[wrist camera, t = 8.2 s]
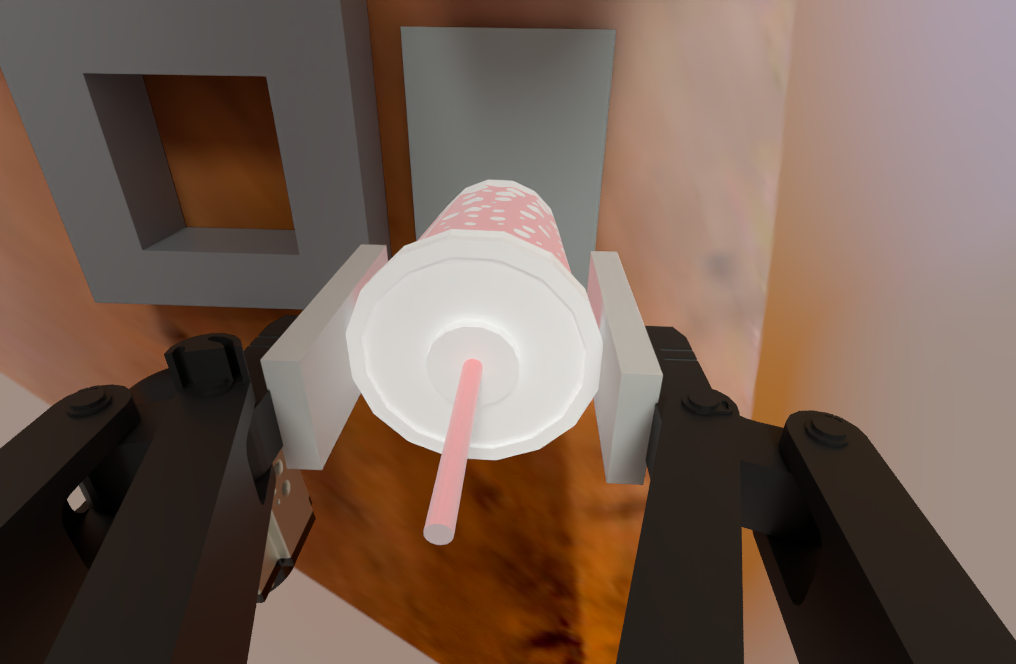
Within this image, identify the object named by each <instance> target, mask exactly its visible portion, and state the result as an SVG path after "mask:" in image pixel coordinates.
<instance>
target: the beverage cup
mask: <svg viewBox="0 0 1016 664" xmlns="http://www.w3.org/2000/svg"><path fill="white" fill-rule="evenodd" d="M346 340H347V347H348V353H349V360H350V366H351V373H352V378H353V380H354V382H355V383H356V385H357V387H358V388H359V390H360V392H361V393H362V395H363V397H364V398H365V400H366V402H367V403H368V405H369V407H370V408H371V410H372V412H373V413H374V414H375V415H376V416H377V417H379V418H380V419H381V420H382V421H384V422H385V423H386V424H387V425H389V426H390V427H391V428H392V429H394V430H395V431H396V432H397V433H399V434H400V435H401V436H402V437H404V438H405V439H406V440H407V441H409V442H411V443H414V444H416V445H419V446H422V447H424V448H427V449H430V450H432V451H435V452H438V453H440V454H442V456H441V460H440V464H439V468H438V472H437V477H436V481H435V485H434V489H433V494H432V498H431V502H430V506H429V510H428V515H427V519H426V523H425V527H424V537H425V538H426V540H428V541H429V542H430V543H433V544H436V545H444V544H448V543H449V542H451V541H452V540H453V538H454V533H455V527H456V521H457V515H458V510H459V504H460V498H461V492H462V486H463V481H464V475H465V469H466V463H467V459H484V460H499V459H503V458H507V457H511V456H515V455H519V454H523V453H527V452H531V451H535V450H539V449H540V448H542V447H543V446H545V445H546V444H548V443H549V442H551V441H552V440H554V439H555V438H557V437H558V436H560V435H561V434H563V433H564V432H566V431H567V430H569V429H570V428H572V427H573V426H575V424H576V423H577V421H578V420H579V418H580V417H581V415H582V414H583V412H584V411H585V409H586V408H587V406H588V405H589V403H590V402H591V400H592V399H593V397H594V396H595V394H596V393H597V391H598V388H599V379H600V371H601V362H602V353H603V341H602V337H601V334H600V331H599V328H598V325H597V322H596V319H595V316H594V313H593V310H592V308H591V305H590V302H589V299H588V296H587V293H586V290H585V288H584V287H583V286H582V285H581V284H580V283H579V282H578V281H577V279H576V278H575V277H574V276H573V275H572V274H571V270H570V267H569V264H568V261H567V257H566V254H565V251H564V248H563V244H562V241H561V238H560V234H559V231H558V228H557V225H556V222H555V219H554V216H553V214H552V211H551V209H550V207H549V206H548V205H547V204H546V203H545V202H544V201H543V200H542V198H541V197H540V196H539V195H538V194H537V193H536V192H535V191H534V190H531V189H529V188H527V187H525V186H523V185H521V184H519V183H517V182H514V181H509V180H486V181H483V182H480V183H478V184H475V185H472V186H470V187H467V188H465V189H464V190H463V191H462V192H461V193H460V194H459V195H458V196H457V197H456V198H455V199H454V200H453V201H452V202H451V203H450V204H449V205H448V206H447V207H446V208H445V209H444V210H443V212H442V213H441V214H440V215H439V216H438V217H437V219H436V220H435V221H434V222H433V223H432V224H431V225H430V227H429V228H428V229H427V230H426V231H425V232H424V234H423V235H422V236H421V237H420V238H419V239H418V241H417V242H414V243H411V244H408V245H405V246H404V247H403V248H402V249H401V250H400V251H398V252H397V253H396V254H395V255H394V256H393V257H392V258H391V259H390V260H389V261H388V262H387V263H386V264H385V265H384V266H383V267H382V268H381V269H380V270H379V271H378V272H377V273H376V274H375V275H374V276H373V277H372V278H371V280H370V281H369V282H368V283H366V284H365V285H364V287H363V288H362V289H361V291H360V293H359V296H358V299H357V302H356V305H355V308H354V311H353V313H352V316H351V319H350V322H349V325H348V328H347V331H346Z"/></svg>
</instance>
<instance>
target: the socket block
mask: <svg viewBox="0 0 1016 664" xmlns="http://www.w3.org/2000/svg"><path fill="white" fill-rule="evenodd" d="M0 67H1V69H2V72H3V74H4V77H5V79H6V82H7V84H8V87H9V89H10V92H11V94H12V97H13V99H14V102H15V104H16V107H17V109H18V112H19V114H20V117H21V119H22V122H23V124H24V127H25V129H26V132H27V134H28V137H29V139H30V142H31V144H32V146H33V149H34V151H35V154H36V156H37V159H38V161H39V164H40V166H41V169H42V171H43V174H44V176H45V179H46V181H47V184H48V186H49V189H50V191H51V194H52V196H53V199H54V201H55V204H56V206H57V209H58V211H59V214H60V216H61V219H62V221H63V224H64V226H65V229H66V231H67V234H68V236H69V238H70V241H71V243H72V246H73V248H74V251H75V253H76V256H77V258H78V261H79V263H80V266H81V268H82V271H83V273H84V276H85V278H86V281H87V283H88V286H89V288H90V291H91V293H92V296H93V298H94V301H95V303H124V304H154V305H183V306H213V307H243V308H273V309H303V310H304V309H305V308H306V307H307V306H308V305H309V304H310V302H311V301H312V300H313V299H314V298H315V297H316V295H317V294H318V293H319V292H320V291H321V290H322V289H323V287H324V286H325V285H326V284H327V283H328V282H329V281H330V279H331V278H332V277H333V276H334V275H335V274H336V273H337V271H338V270H339V269H340V268H341V267H342V266H343V265H344V263H345V262H346V261H347V260H348V259H349V258H350V257H351V255H352V254H353V253H354V252H355V251H356V250H357V248H358V247H359V246H360V245H361V244H366V245H386V247H387V257H388V261H389V260H390V259H391V258H392V254H391V244H390V234H389V224H388V214H387V203H386V193H385V183H384V173H383V163H382V153H381V143H380V132H379V122H378V112H377V102H376V92H375V82H374V72H373V61H372V51H371V41H370V31H369V21H368V11H367V0H0ZM142 74H160V75H217V76H266V79H267V84H268V89H269V95H270V100H271V105H272V111H273V116H274V121H275V127H276V132H277V137H278V143H279V148H280V153H281V159H282V164H283V169H284V175H285V180H286V185H287V191H288V196H289V202H290V207H291V212H292V218H293V223H294V228H295V230H274V229H239V228H203V227H186V225H185V222H184V218H183V215H182V211H181V208H180V204H179V201H178V197H177V194H176V190H175V187H174V183H173V180H172V177H171V173H170V170H169V166H168V163H167V159H166V156H165V152H164V149H163V145H162V142H161V138H160V135H159V131H158V128H157V125H156V121H155V118H154V114H153V111H152V107H151V104H150V100H149V97H148V93H147V90H146V86H145V83H144V80H143V76H142Z"/></svg>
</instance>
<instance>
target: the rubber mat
mask: <svg viewBox="0 0 1016 664" xmlns="http://www.w3.org/2000/svg"><path fill="white" fill-rule="evenodd" d="M615 38H616V30H615V29H543V28H471V27H401V41H402V54H403V68H404V81H405V95H406V108H407V122H408V136H409V149H410V163H411V176H412V190H413V203H414V217H415V230H416V242H417V241H418V239H419V238H420V237H421V236H422V235H423V234H424V232H425V231H426V230H427V229H428V228H429V227H430V225H431V224H432V223H433V222H434V221H435V220H436V219H437V217H438V216H439V215H440V214H441V213H442V212H443V210H444V209H445V208H446V207H447V206H448V205H449V204H450V203H451V202H452V201H453V200H454V199H455V198H456V197H457V196H458V195H459V194H460V193H461V192H462V191H463V190H464V189H465V188H467V187H470V186H472V185H475V184H478V183H480V182H483V181H486V180H509V181H514V182H517V183H519V184H521V185H523V186H525V187H527V188H529V189H531V190H534V191H535V192H536V193H537V194H538V195H539V196H540V197H541V198H542V200H543V201H544V202H545V203H546V204H547V205H548V206H549V207H550V209H551V211H552V214H553V216H554V219H555V222H556V225H557V228H558V231H559V234H560V238H561V241H562V244H563V248H564V251H565V254H566V257H567V261H568V264H569V267H570V270H571V274H572V275H573V276H574V277H575V278H576V279H577V281H578V282H579V283H580V284H581V285H582V286H583V287H584V288H585V290H586V293H587V287H588V276H589V266H590V255H591V251H595V245H596V234H597V224H598V214H599V203H600V193H601V183H602V172H603V162H604V152H605V141H606V131H607V121H608V110H609V100H610V90H611V79H612V69H613V59H614V48H615Z"/></svg>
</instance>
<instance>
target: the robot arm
mask: <svg viewBox="0 0 1016 664" xmlns="http://www.w3.org/2000/svg"><path fill="white" fill-rule="evenodd" d="M387 262H388V257H387V247H386V245H366V244H361V245H360V246H359V247H358V248H357V250H356V251H355V252H354V253H353V254H352V255H351V257H350V258H349V259H348V260H347V261H346V262H345V263H344V265H343V266H342V267H341V268H340V269H339V270H338V271H337V273H336V274H335V275H334V276H333V277H332V278H331V279H330V281H329V282H328V283H327V284H326V285H325V286H324V287H323V289H322V290H321V291H320V292H319V293H318V294H317V295H316V297H315V298H314V299H313V300H312V301H311V302H310V304H309V305H308V306H307V307H306V308H305V309H304V310H303V312H302V313H301V314H300V315H299V316H297V315H285V316H283V317H282V318H280V319H278V320H276V321H274V322H272V323H270V324H269V325H268V326H267V327H266V328H265V329H264V330H263V331H262V332H261V333H260V334H259V337H256V338H255V339H254V341H253V342H252V343H251V344H250V346H248V347H247V348H246V349H245V350H244V351H243V348H242V344H241V341H240V339H239V338H237V337H236V336H234V335H230V334H225V333H211V334H205V335H200V336H195V337H192V338H189V339H186V340H183V341H181V342H179V343H177V344H176V345H174V346H172V347H170V348H169V349H168V351H167V352H166V353H165V354H164V356H165V359H166V362H167V364H168V367H169V370H170V373H171V376H172V379H173V382H174V385H175V387H176V390H177V391H176V393H175V395H174V397H173V399H170V400H163V401H156V402H149V403H143V404H136V403H135V400H134V397H133V395H132V392H131V390H129V389H128V388H126V387H125V386H120V385H103V386H100V385H99V386H93V387H90V388H85V389H82V390H79V391H78V392H76V393H74V394H71V395H69V396H67V397H65V398H63V399H62V400H60V401H59V402H57V403H56V404H54V405H53V406H52V407H50V408H49V409H48V410H47V411H46V412H44V413H43V414H42V415H41V416H40V417H38V418H37V419H36V420H35V421H33V422H32V423H31V424H30V425H28V426H27V427H26V428H25V429H23V430H22V431H21V432H20V433H19V434H17V435H16V436H15V437H14V438H12V439H11V440H10V441H9V442H8V443H6V444H5V445H4V446H3V447H2V448H0V664H247V659H248V652H249V647H250V640H251V634H252V628H253V622H254V615H255V609H256V603H257V597H258V591H259V585H260V578H261V572H262V566H263V560H264V554H265V548H266V541H267V535H268V529H269V523H270V517H271V510H272V504H273V498H274V492H275V486H276V475H275V470H274V466H273V461H274V460H275V458H276V457H277V455H278V453H279V452H280V450H281V449H282V450H283V454H284V458H285V462H286V466H287V469H307V470H322V469H323V467H324V465H325V463H326V461H327V459H328V457H329V455H330V453H331V451H332V449H333V447H334V445H335V443H336V441H337V439H338V437H339V435H340V433H341V431H342V429H343V427H344V425H345V423H346V421H347V419H348V417H349V415H350V413H351V411H352V409H353V407H354V405H355V404H356V402H357V400H358V398H359V396H360V394H361V392H360V390H359V388H358V387H357V385H356V383H355V382H354V380H353V378H352V373H351V366H350V360H349V353H348V347H347V340H346V331H347V328H348V325H349V322H350V319H351V316H352V313H353V311H354V308H355V305H356V302H357V299H358V296H359V293H360V291H361V289H362V288H363V287H364V285H365V284H366V283H368V282H369V281H370V280H371V278H372V277H373V276H374V275H375V274H376V273H377V272H378V271H379V270H380V269H381V268H382V267H383V266H384V265H385V264H386V263H387ZM587 296H588V299H589V302H590V305H591V308H592V310H593V313H594V316H595V319H596V322H597V325H598V328H599V331H600V334H601V337H602V341H603V353H602V362H601V371H600V379H599V388H598V391H597V393H596V394H595V396H594V397H593V398H594V405H595V411H596V418H597V424H598V431H599V437H600V443H601V450H602V456H603V463H604V469H605V476H606V482H607V483H617V484H639V485H643V483H644V477H645V472H646V466H647V468H648V472H649V476H650V480H651V481H650V486H649V491H648V497H647V502H646V507H645V512H644V518H643V523H642V528H641V534H640V539H639V544H638V550H637V555H636V560H635V565H634V571H633V576H632V581H631V587H630V592H629V597H628V603H627V608H626V613H625V618H624V624H623V629H622V634H621V640H620V645H619V650H618V655H617V661H616V664H744V646H743V645H744V643H743V590H742V589H743V587H742V531H741V527H744V528H748V529H751V530H753V535H754V538H755V541H756V543H757V546H758V549H759V552H760V555H761V557H762V560H763V563H764V566H765V569H766V571H767V575H768V577H769V580H770V583H771V586H772V589H773V591H774V594H775V597H776V600H777V602H778V605H779V608H780V611H781V614H782V617H783V620H784V622H785V625H786V628H787V631H788V634H789V636H790V639H791V642H792V645H793V648H794V651H795V653H796V656H797V659H798V662H799V664H1016V640H1015V639H1014V637H1013V636H1012V635H1011V633H1010V632H1009V631H1008V629H1007V628H1006V627H1005V625H1004V624H1003V622H1002V621H1001V620H1000V618H999V617H998V615H997V614H996V613H995V612H994V610H993V609H992V607H991V606H990V605H989V603H988V602H987V600H986V599H985V598H984V596H983V595H982V594H981V593H980V591H979V589H978V588H977V587H976V585H975V584H974V583H973V581H972V580H971V579H970V577H969V576H968V574H967V573H966V572H965V570H964V569H963V568H962V566H961V565H960V563H959V562H958V561H957V559H956V558H955V557H954V555H953V554H952V552H951V551H950V550H949V548H948V547H947V546H946V544H945V543H944V542H943V540H942V539H941V537H940V536H939V535H938V533H937V532H936V531H935V529H934V528H933V526H932V525H931V524H930V522H929V521H928V520H927V518H926V517H925V516H924V514H923V513H922V512H921V510H920V509H919V507H918V506H917V505H916V503H915V502H914V500H913V499H912V498H911V496H910V495H909V494H908V492H907V491H906V490H905V488H904V487H903V485H902V484H901V483H900V481H899V480H898V479H897V477H896V476H895V475H894V473H893V472H892V471H891V469H890V468H889V466H888V465H887V464H886V462H885V461H884V459H883V458H882V457H881V455H880V454H879V453H878V451H877V450H876V448H875V447H874V446H873V444H872V443H871V442H870V440H869V439H868V437H867V436H866V435H865V434H864V433H863V432H862V431H861V430H860V429H859V428H857V427H856V426H854V425H853V424H851V423H849V422H848V421H846V420H844V419H843V418H840V417H838V416H834V415H833V414H829V413H825V412H818V411H798V412H796V413H794V414H791V415H790V416H789V417H788V419H787V421H786V423H785V426H784V428H782V427H777V426H772V425H769V424H764V423H760V422H756V421H753V420H750V419H746V418H744V417H742V416H739V410H738V408H737V405H736V404H735V403H734V402H733V401H732V400H731V399H730V398H729V397H728V396H726V395H724V394H722V393H721V392H719V391H717V390H714V389H712V388H711V386H710V384H709V382H708V380H707V378H706V376H705V374H704V372H703V370H702V368H701V366H700V364H699V362H698V361H697V358H696V356H695V354H694V352H693V351H692V348H691V346H690V344H689V342H688V340H687V338H686V337H685V336H684V335H682V334H681V333H680V332H678V331H677V330H676V329H675V328H673V327H660V326H644V323H643V320H642V318H641V315H640V312H639V310H638V307H637V304H636V302H635V299H634V296H633V294H632V291H631V288H630V286H629V283H628V280H627V278H626V275H625V272H624V270H623V267H622V264H621V262H620V259H619V256H618V254H617V252H606V251H591V255H590V266H589V276H588V287H587ZM78 485H79V487H80V489H81V491H82V493H83V495H84V497H85V499H86V501H85V502H84V503H83V504H82V505H81V506H80V507H79V508H78V509H77V510H75V511H74V510H72V509H71V507H70V505H69V503H68V501H67V498H68V497H69V495H70V494H71V493H72V492H73V491H74V490H75V489H76V487H77V486H78Z"/></svg>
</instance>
